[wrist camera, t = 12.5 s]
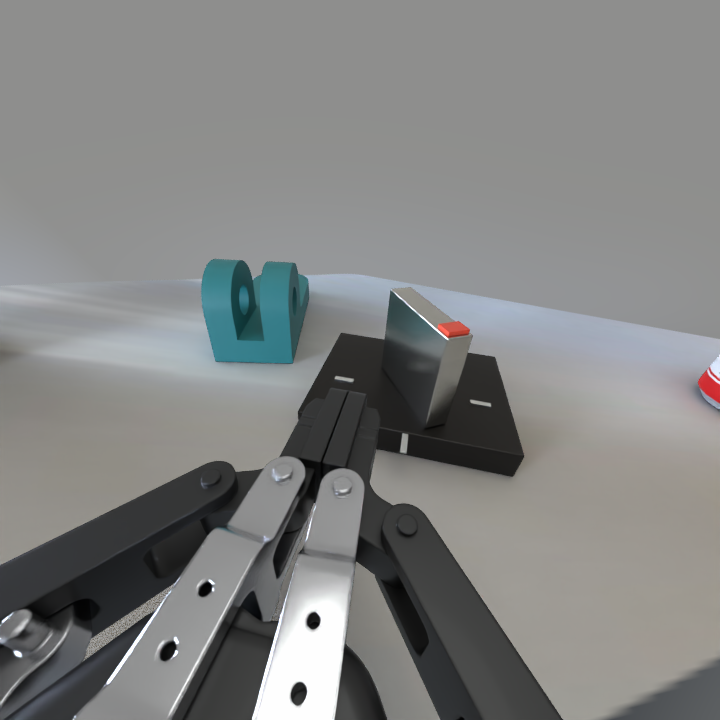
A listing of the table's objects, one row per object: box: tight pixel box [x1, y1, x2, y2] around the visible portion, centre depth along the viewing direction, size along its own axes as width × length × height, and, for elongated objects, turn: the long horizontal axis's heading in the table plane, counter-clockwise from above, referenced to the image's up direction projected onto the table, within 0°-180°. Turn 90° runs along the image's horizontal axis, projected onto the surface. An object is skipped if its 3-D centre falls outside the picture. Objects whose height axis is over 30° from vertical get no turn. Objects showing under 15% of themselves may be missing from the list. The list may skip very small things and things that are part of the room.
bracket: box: [201, 259, 309, 363], centre depth 33 cm, size 18×7×8 cm, turn 2°
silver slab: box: [381, 287, 473, 428], centre depth 20 cm, size 7×2×7 cm, turn 20°
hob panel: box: [298, 333, 524, 476], centre depth 23 cm, size 14×13×2 cm
